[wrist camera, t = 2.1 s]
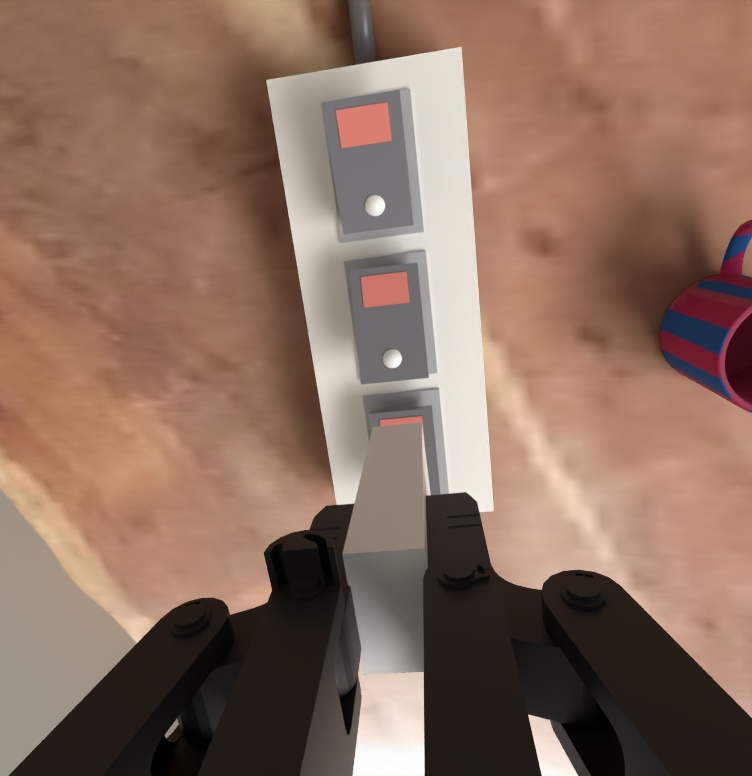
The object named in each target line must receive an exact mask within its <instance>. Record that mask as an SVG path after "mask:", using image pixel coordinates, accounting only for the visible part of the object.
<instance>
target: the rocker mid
mask: <svg viewBox="0 0 752 776" xmlns="http://www.w3.org/2000/svg"><path fill="white" fill-rule="evenodd" d="M349 278H350V288H351V297H352V306H353V316H354V325H355V334H356V343H357V353H358V362H359V371H360V381H361V385H363V384H373V383H383V382H393V381H403V380H413V379H423V378H429V372H428V362H427V352H426V342H425V332H424V322H423V312H422V301H421V291H420V281H419V271H418V263H417V262H416V263H408V264H400V265H391V266H383V267H375V268H367V269H359V270H351V271H349Z"/></svg>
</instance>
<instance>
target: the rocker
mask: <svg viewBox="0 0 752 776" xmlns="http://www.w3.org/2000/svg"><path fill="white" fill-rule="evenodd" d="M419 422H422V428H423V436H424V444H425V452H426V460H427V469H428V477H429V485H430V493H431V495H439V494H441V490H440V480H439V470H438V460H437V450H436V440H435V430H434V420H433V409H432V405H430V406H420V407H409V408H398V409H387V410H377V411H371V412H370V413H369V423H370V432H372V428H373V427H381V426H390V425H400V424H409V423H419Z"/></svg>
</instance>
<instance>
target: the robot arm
mask: <svg viewBox="0 0 752 776" xmlns="http://www.w3.org/2000/svg"><path fill="white" fill-rule="evenodd" d="M264 556H265V560H266V565H267V569H268V573H269V578H270V582H271V587H272V592H271V595H270V597H269V600H268V602H267V603H265V604H263V605H261V606H258V607H255V608H252V609H249V610H246V611H242V612H239V613H235V614H232V615H230V613H229V609H228V607H227V605H226V604H225V603H224V602H223V601H222V600H219V599H215V598H200V599H196V600H191V601H189V602H186V603H184V604H182V605H180V606H178V607H176V608H174V609H172V610H171V611H170V612H169V613H167V614H166V615H165V616H164V617H163V618H161V619H160V620H159V621H158V622H157V623H156V624H155V626H154V627H153V628H152V629H151V630H150V631H149V632H148V633H147V634H146V635H145V636H144V637H143V638H142V639H141V640H140V641H139V642H138V643H137V644H136V645H135V646H134V647H133V648H132V649H131V650H130V651H129V652H128V653H127V654H126V655H125V656H124V657H123V658H122V659H121V660H120V662H119V663H118V664H117V665H116V666H115V667H114V668H113V669H112V670H111V671H110V672H109V673H108V674H107V675H106V676H105V677H104V678H103V679H102V680H101V681H100V682H99V683H98V684H97V685H96V686H95V687H94V688H93V689H92V690H91V691H90V693H88V695H87V696H86V697H85V698H84V699H83V700H82V701H81V702H80V703H79V704H78V705H77V706H76V707H75V708H74V709H73V710H72V711H71V712H70V713H69V714H68V715H67V716H66V717H65V718H64V719H63V720H62V721H61V722H60V723H59V724H58V725H57V726H56V727H55V728H54V729H53V731H51V733H50V734H49V735H48V736H47V737H46V738H45V739H44V740H43V741H42V742H41V743H40V744H39V745H38V746H37V747H36V748H35V749H34V750H33V751H32V752H31V753H30V754H29V755H28V756H27V757H26V758H25V759H24V760H23V761H22V763H20V764H19V765H18V767H17V768H16V769H15V770H14V771H13V772H12V773H11V774H10V775H9V776H352V774H353V765H354V757H355V748H356V740H357V732H358V723H359V715H360V706H361V689H360V683H359V677H358V670H359V662H360V655H361V661H362V666H363V672H364V675H366V674H385V673H405V672H424V738H425V776H542V775H541V771H540V766H539V762H538V757H537V753H536V749H535V744H534V740H533V735H532V731H531V726H530V722H529V717H528V714H529V715H533V716H537V717H541V718H545V719H549V720H550V722H551V725H552V728H553V731H554V732H555V734H556V736H557V738H558V740H559V741H560V743H561V745H562V747H563V749H564V750H565V752H566V754H567V756H568V758H569V760H570V761H571V763H572V765H573V767H574V769H575V770H576V772H577V774H578V776H752V718H751V717H750V716H749V715H748V714H747V713H746V712H745V711H744V710H743V709H742V708H741V707H740V706H739V705H738V704H737V703H736V702H735V701H734V700H733V699H732V698H731V697H730V696H729V695H728V694H727V693H726V692H725V691H724V690H723V689H722V688H721V687H720V686H719V685H718V684H717V683H716V682H715V681H714V680H713V678H712V677H711V676H710V675H709V674H708V673H707V672H706V671H705V670H704V669H703V668H702V667H701V666H700V665H699V664H698V663H697V662H696V661H695V660H694V659H693V658H692V657H691V656H690V655H689V654H688V653H687V652H686V651H685V650H684V649H683V648H682V647H681V646H680V645H679V644H678V643H677V642H676V641H675V640H674V639H673V638H672V637H671V636H670V635H669V634H668V633H667V632H666V631H665V630H664V629H663V628H662V627H661V626H660V625H659V624H658V623H657V622H656V621H655V620H654V619H653V618H652V617H651V616H650V615H649V614H648V613H647V612H646V611H645V610H644V609H643V608H642V607H641V606H640V605H639V604H638V603H637V602H636V601H635V600H634V599H633V598H632V597H631V596H630V595H629V594H628V593H627V592H626V591H625V590H624V589H623V588H622V587H621V586H620V585H619V584H617V583H616V582H615V581H613V580H612V579H610V578H609V577H606V576H604V575H601V574H598V573H596V572H591V571H584V570H570V571H562V572H560V573H557V574H555V575H552V576H551V577H550V578H549V579H548V580H546V581H545V582H544V583H543V587H542V590H538V589H532V588H526V587H522V586H518V585H515V584H512V583H510V582H508V581H506V580H504V579H503V578H501V577H500V576H498V574H497V573H496V572H495V571H494V569H493V567H492V565H491V563H490V558H489V554H488V549H487V545H486V540H485V536H484V531H483V527H482V522H481V518H480V513H479V508H478V504H477V501H476V500H475V499H473V498H472V497H471V496H470V495H469V494H468V493H467V492H461V493H450V494H439V495H431V493H430V485H429V477H428V469H427V460H426V452H425V444H424V436H423V428H422V422H419V423H409V424H400V425H390V426H381V427H373V428H372V432H371V436H370V440H369V444H368V449H367V453H366V457H365V461H364V465H363V470H362V474H361V478H360V482H359V487H358V491H357V495H356V499H355V503H354V504H343V505H331V506H326V507H324V508H323V509H322V510H321V511H320V512H319V513H318V514H317V515H316V516H315V517H314V519H313V522H312V525H311V527H310V530H304V531H299V532H293V533H290V534H288V535H285V536H283V537H280V538H279V539H277V540H276V541H274V542H273V543H271V544H270V545H269V546H268V548H267V549H266V550H265V552H264ZM176 719H177V720H178V723H179V725H178V726H177V728H176V729H175V730H174V732H173V733H172V734H171V735H170V736H169V737H168V738H167V739H166V738H165V733H166V732H167V731H168V729H169V728H170V727H171V725H172V724H173V723H174V721H175V720H176Z"/></svg>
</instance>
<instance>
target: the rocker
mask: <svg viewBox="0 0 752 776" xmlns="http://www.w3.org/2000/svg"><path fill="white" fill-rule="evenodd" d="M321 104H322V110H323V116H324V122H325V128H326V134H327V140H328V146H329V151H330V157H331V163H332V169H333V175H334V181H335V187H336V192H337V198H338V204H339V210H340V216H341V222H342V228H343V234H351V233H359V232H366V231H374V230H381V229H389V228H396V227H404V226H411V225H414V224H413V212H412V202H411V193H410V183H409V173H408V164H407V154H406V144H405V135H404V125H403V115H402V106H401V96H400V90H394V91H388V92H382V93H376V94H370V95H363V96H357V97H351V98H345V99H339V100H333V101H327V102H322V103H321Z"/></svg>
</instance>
